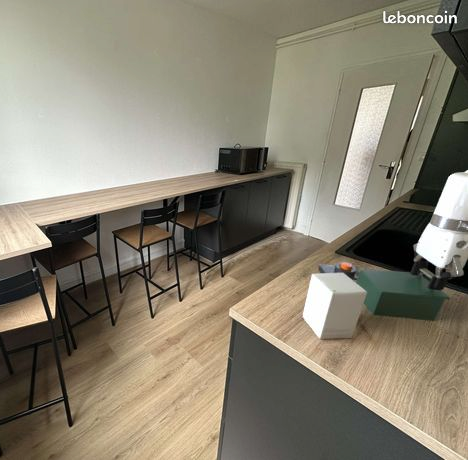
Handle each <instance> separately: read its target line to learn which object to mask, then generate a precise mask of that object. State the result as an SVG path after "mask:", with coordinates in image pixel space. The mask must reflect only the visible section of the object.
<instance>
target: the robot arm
mask: <svg viewBox="0 0 468 460" xmlns="http://www.w3.org/2000/svg"><path fill="white" fill-rule="evenodd" d="M412 246H413V250H414V251H413V254H414V258H413V262H414V263H413V265H412V267H411V270H410V272H411V273H410V274H411V275H416V276H417V275H418V273H419V271H418V268H419V267H424V268H426V269H427V270H428V269H429V266H430V263H431V264H432V265H434V266H435V274H434V275H435V276H432V278H431V280H430V279H429V285H428V289H431V290H441V291H443V290H444V288H445V286H447V285H446V284H447V282H448V280H451V279H452V278H453V279H454V278H458V277H462V276H464V275H465V272H464V269H463V268H464V267H465V265H466V263H467V261H468V169H467V170H466V171H463V172H454V173H452V174H451V175H450V176H448V178H447V180H446V183H445V184H444V187H443V189H442V192H441V195H440V197H439V198H438V201H437V204H436V206H435V209H434V212H433V213H432V217H431V219H430V220H429V222H428V224H427V225H426V227H425V229H424V230H423V232H422V234H421V235H420V238H419V240H418V242H417V243H415V244H413V245H412ZM443 270H445V272H444V271H443ZM422 276H423V277H425V275H422Z"/></svg>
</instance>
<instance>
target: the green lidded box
mask: <svg viewBox="0 0 468 460" xmlns="http://www.w3.org/2000/svg"><path fill="white" fill-rule="evenodd" d="M357 277H358V279H357V280H356V282H355V283H356V284H358V285H359V286H360V287H362V288H363V289H364V290H365V291H367V295H366V298H365V301H364V303H363V305H365V306H366V308H367V309H368V311H369V312H370V313H371V314H372V315H373V316H380V317H389V318H390V317H391V318H401V319H409V320H410V319H411V320H421V321H429V322H430V321H431V322H434V321H436V319H437V317H438V315H439V313H440V310H441V309H442V307H443V304H444V302H445V300H446V299H435V298H423V297H411V296H399V295H387V294H381V293H380V292H379V291H378V290H377V289H376V288H375V287H374V286H373V285H372V284H371V283H370V281H369V280H368V279H367V278H366V277H365V276H364V275H363V274H362V273H361V272H360V271H359V273H358V275H357Z"/></svg>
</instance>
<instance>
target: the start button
mask: <svg viewBox="0 0 468 460" xmlns="http://www.w3.org/2000/svg"><path fill="white" fill-rule="evenodd" d="M340 263H341V266H340V268H342V269H344V270H351V268H352V266H353V264H352V263H350V262H347V261H342V262H340Z"/></svg>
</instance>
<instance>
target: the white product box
mask: <svg viewBox="0 0 468 460" xmlns="http://www.w3.org/2000/svg"><path fill="white" fill-rule="evenodd" d="M366 295H367V291H365V290H364V289H363V288H362V287H360V286H359V285H358V284H356V282H355V280H352V279H350V278H349V277H348V276H347V275H345V274H344V273H322V274H321V273H312V274H311V276H310V282H309V285H308V291H307V294H306V298H305V299H306V300H305V304H304V307H303V313H302V318H303V319H304V320H305V322H306V323H307V325H308V326H309V327H310V328H311V330H312V331H313V333H314V334H315V335H316V336H317V338H318V339H319V340H331V339H351V338H353V334H354V333H355V329H356V326H357V323H358V321H359V318H360V315H361V312H362V309H363V306H364V301H365V298H366Z"/></svg>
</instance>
